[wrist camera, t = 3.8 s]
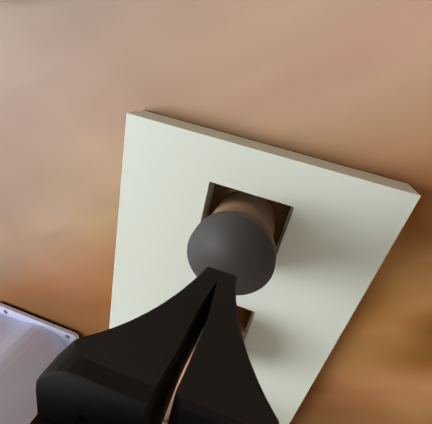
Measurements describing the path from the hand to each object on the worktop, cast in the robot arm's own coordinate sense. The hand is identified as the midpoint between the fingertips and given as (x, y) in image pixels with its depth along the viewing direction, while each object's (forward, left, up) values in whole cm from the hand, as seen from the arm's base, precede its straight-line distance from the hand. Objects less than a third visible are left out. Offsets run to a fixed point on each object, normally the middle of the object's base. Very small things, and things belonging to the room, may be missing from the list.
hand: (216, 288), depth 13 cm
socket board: (0, -8, -8) cm, 11 cm away
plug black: (0, 0, -7) cm, 7 cm away
